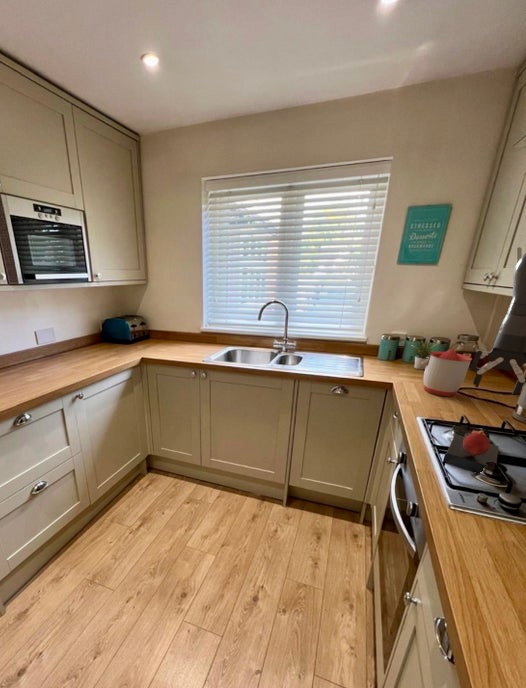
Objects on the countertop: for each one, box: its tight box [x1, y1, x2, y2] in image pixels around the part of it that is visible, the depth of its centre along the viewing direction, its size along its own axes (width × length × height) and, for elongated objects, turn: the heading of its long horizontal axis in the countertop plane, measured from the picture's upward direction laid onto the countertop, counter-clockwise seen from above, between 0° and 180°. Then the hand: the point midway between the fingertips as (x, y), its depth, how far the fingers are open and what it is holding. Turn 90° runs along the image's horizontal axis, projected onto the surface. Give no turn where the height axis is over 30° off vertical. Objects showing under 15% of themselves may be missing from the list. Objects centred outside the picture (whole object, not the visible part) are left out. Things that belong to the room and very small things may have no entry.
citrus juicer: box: [422, 348, 473, 398], centre depth 146 cm, size 16×17×20 cm
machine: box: [443, 432, 500, 474], centre depth 96 cm, size 16×11×5 cm, turn 139°
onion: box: [463, 430, 491, 456], centre depth 91 cm, size 6×6×8 cm
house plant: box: [410, 339, 440, 370], centre depth 182 cm, size 14×14×16 cm
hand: (494, 390), depth 93 cm, fingers open, 8 cm apart
